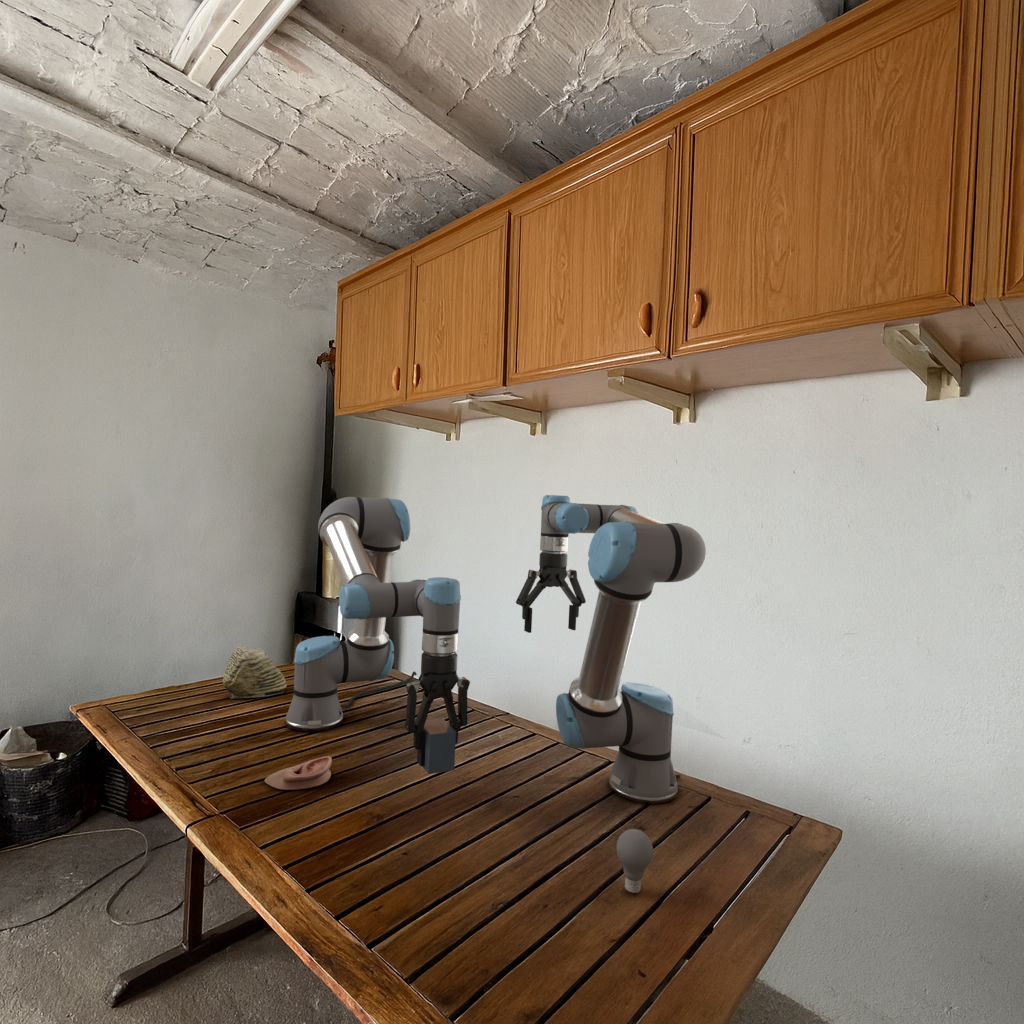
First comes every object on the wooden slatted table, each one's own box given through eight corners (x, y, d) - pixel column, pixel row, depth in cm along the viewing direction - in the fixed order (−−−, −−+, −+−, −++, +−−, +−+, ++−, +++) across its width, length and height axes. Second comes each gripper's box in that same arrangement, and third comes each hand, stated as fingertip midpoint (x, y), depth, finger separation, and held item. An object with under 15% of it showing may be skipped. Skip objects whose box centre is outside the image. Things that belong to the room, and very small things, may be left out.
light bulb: (610, 879, 108) (613, 822, 108) (644, 879, 109) (647, 822, 109) (619, 902, 102) (622, 840, 102) (655, 901, 103) (658, 840, 103)
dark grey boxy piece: (416, 758, 136) (417, 720, 136) (441, 755, 138) (442, 717, 138) (428, 774, 128) (430, 734, 128) (454, 770, 131) (456, 731, 131)
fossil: (218, 695, 195) (220, 647, 195) (278, 685, 208) (279, 640, 207) (228, 703, 189) (230, 653, 188) (289, 692, 201) (290, 645, 201)
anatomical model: (256, 768, 137) (286, 748, 148) (256, 786, 137) (285, 765, 148) (313, 776, 134) (338, 755, 145) (312, 794, 134) (338, 772, 145)
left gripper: (401, 659, 125) (396, 775, 126) (487, 653, 134) (482, 762, 134) (391, 650, 132) (386, 760, 133) (473, 645, 140) (469, 748, 141)
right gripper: (518, 553, 162) (514, 635, 162) (600, 553, 173) (596, 631, 173) (505, 550, 169) (502, 629, 169) (585, 551, 180) (582, 625, 180)
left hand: (434, 761), depth 133 cm, fingers closed on dark grey boxy piece, 6 cm apart
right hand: (550, 630), depth 171 cm, fingers open, 13 cm apart
